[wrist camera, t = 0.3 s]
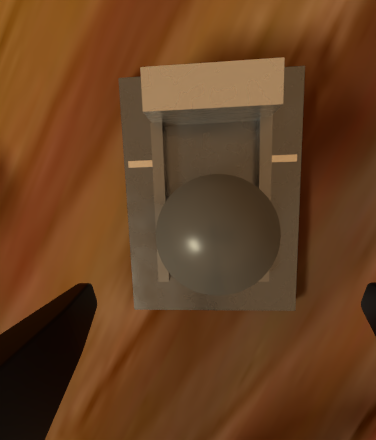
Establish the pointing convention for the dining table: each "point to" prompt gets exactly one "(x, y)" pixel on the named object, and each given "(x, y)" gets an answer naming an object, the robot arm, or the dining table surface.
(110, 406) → the dining table surface
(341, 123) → the dining table surface
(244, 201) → the knob
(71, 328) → the robot arm
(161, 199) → the knob mount
